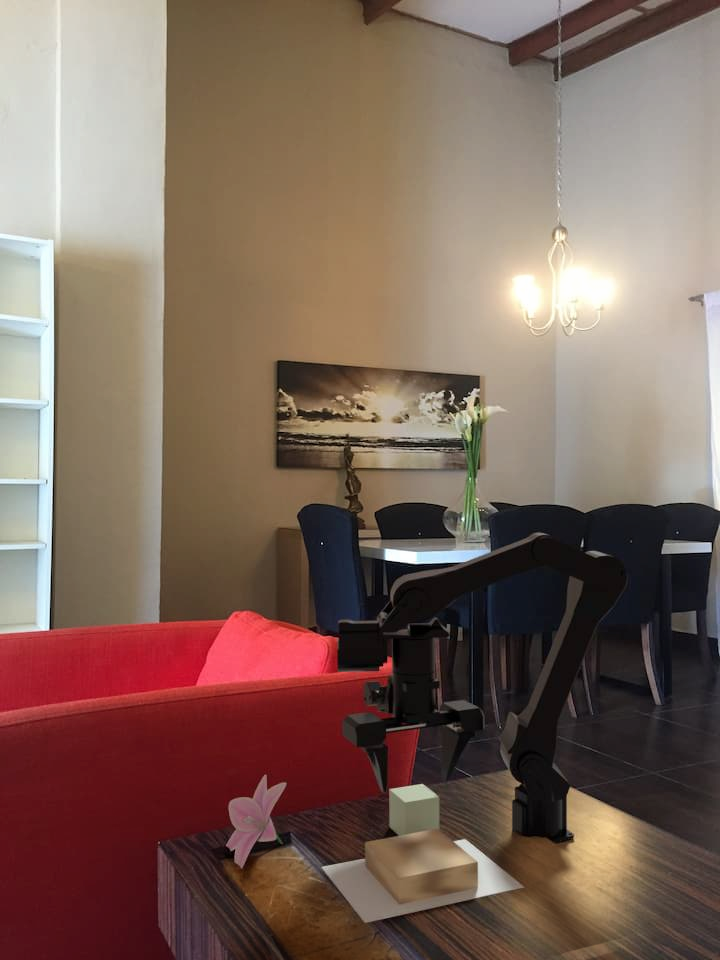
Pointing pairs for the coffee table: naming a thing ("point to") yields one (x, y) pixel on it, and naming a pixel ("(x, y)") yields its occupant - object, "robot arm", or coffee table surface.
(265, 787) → the lily
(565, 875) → the coffee table surface
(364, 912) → the white rectangular plate
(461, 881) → the base block
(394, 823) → the top block
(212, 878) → the coffee table surface
